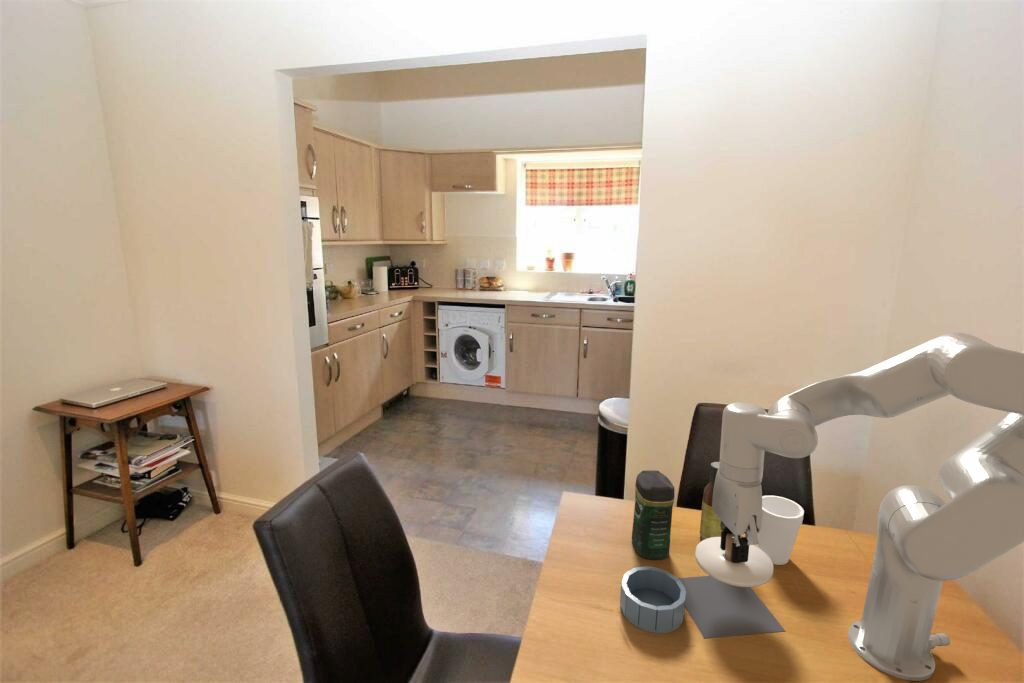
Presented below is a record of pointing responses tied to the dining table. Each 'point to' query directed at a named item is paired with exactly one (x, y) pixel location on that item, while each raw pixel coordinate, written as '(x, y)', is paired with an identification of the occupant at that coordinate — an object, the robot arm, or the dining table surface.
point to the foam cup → (779, 527)
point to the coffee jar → (652, 515)
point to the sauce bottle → (709, 509)
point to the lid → (727, 572)
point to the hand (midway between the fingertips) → (733, 554)
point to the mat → (726, 609)
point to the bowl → (652, 599)
